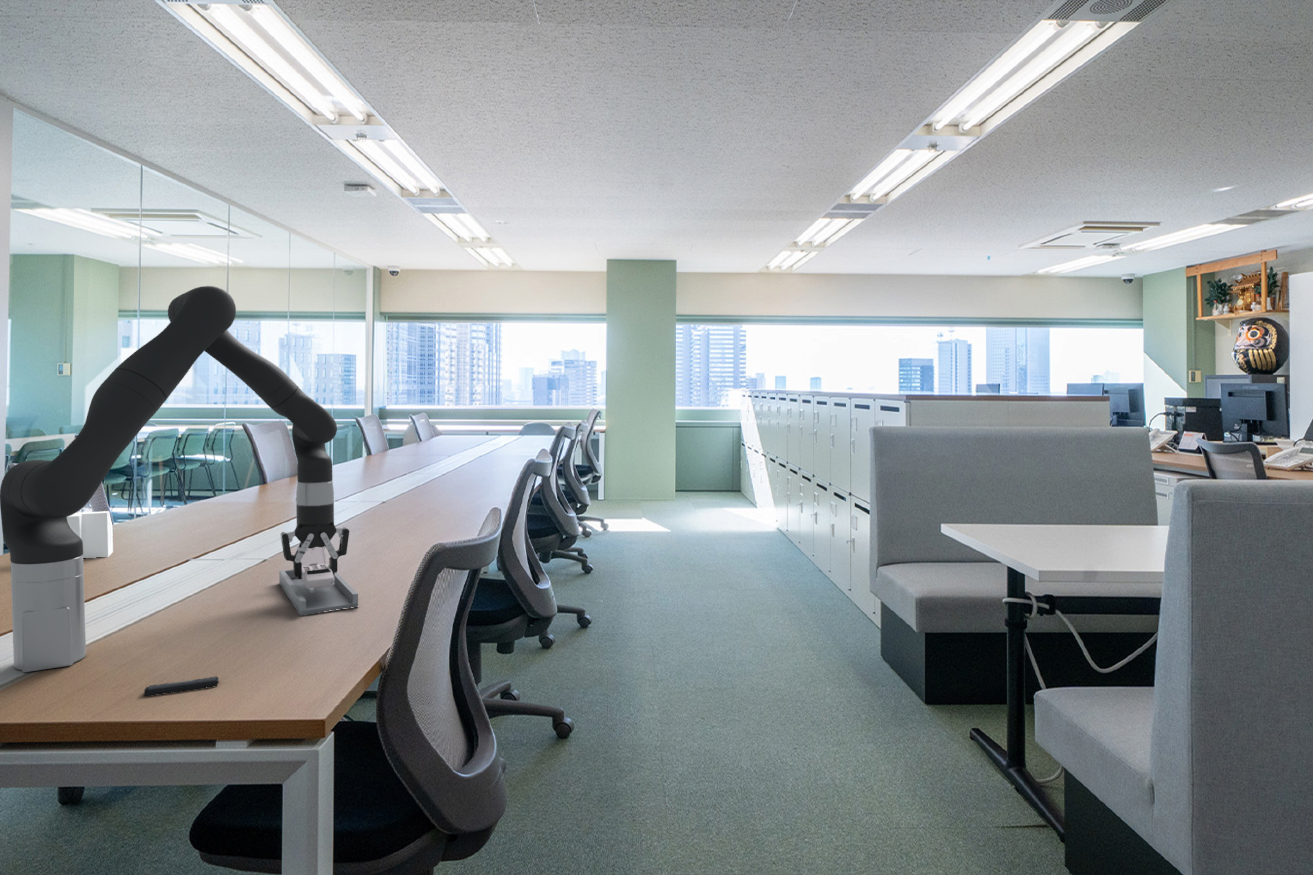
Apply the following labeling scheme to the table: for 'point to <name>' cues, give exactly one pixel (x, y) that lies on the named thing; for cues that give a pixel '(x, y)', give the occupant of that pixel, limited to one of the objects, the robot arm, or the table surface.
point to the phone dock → (317, 594)
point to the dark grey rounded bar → (181, 686)
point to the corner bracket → (93, 532)
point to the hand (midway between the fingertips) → (315, 576)
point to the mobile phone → (316, 569)
